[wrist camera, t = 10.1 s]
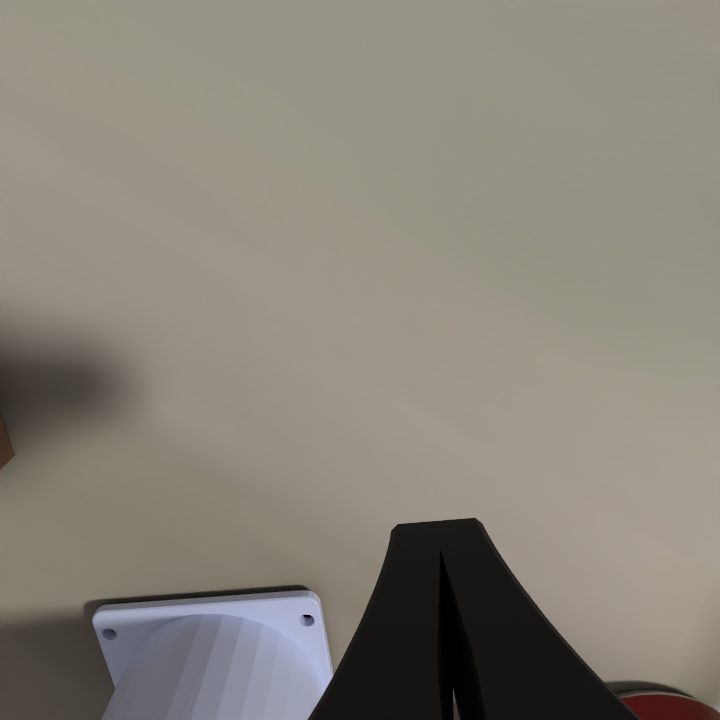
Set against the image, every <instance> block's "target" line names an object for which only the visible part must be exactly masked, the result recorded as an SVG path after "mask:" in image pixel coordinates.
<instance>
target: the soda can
mask: <svg viewBox="0 0 720 720" xmlns="http://www.w3.org/2000/svg"><path fill="white" fill-rule="evenodd" d="M616 695H617V696H618V697H619V698H620V699H621V700H622V701H623V702H624V703H625V704H626V705H627V706H628V707H629V708H630V709H631V710H632V711H633V712H634V713H635V714H636V715H638V716H639V717H640V718H641V719H642V720H720V713H719V712H718V711H717V710H715V709H714V708H713V707H711V706H709V705H707V704H704V703H702V702H700V701H698V700H696V699H693V698H691V697H688V696H685V695H681V694H678V693H674V692H670V691H661V690H633V691H627V692H621V693H616Z"/></svg>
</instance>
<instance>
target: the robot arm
mask: <svg viewBox="0 0 720 720" xmlns="http://www.w3.org/2000/svg"><path fill="white" fill-rule="evenodd" d="M302 615H311V616H312V617H311V618H305V617H304V616H302ZM92 623H93V626H94V629H95V632H96V635H97V638H98V640H99V643H100V646H101V649H102V652H103V655H104V658H105V661H106V663H107V666H108V669H109V672H110V675H111V678H112V681H113V684H114V686H115V691H114V693H113V695H112V697H111V699H110V702H109V704H108V706H107V708H106V710H105V712H104V715H103V717H102V719H101V720H454V715H453V690H454V694H455V699H456V704H457V709H458V713H459V718H460V720H642V719H641V718H640V717H639V716H638V715H636V714H635V713H634V712H633V711H632V710H631V709H630V708H629V707H628V706H627V705H626V704H625V703H624V702H623V701H622V700H621V699H620V698H619V697H618V696H617V695H616V694H615V693H614V692H613V691H612V690H611V689H610V688H609V687H608V686H607V685H606V684H605V683H604V682H603V681H602V680H601V679H600V678H599V677H598V676H597V675H596V673H595V672H594V671H593V670H592V669H591V668H590V667H589V666H588V665H587V664H586V663H585V662H584V661H583V659H582V658H581V657H580V656H579V655H578V654H577V653H576V652H575V650H574V649H573V648H572V647H571V646H570V645H569V644H568V643H567V641H566V640H565V639H564V638H563V637H562V636H561V635H560V633H559V632H558V631H557V630H556V629H555V627H554V626H553V625H552V624H551V623H550V621H549V620H548V619H547V618H546V617H545V615H544V614H543V613H542V611H541V610H540V609H539V608H538V606H537V605H536V604H535V602H534V601H533V600H532V599H531V597H530V596H529V595H528V593H527V592H526V591H525V589H524V588H523V587H522V586H521V584H520V583H519V581H518V580H517V579H516V577H515V576H514V574H513V573H512V572H511V570H510V569H509V567H508V566H507V564H506V563H505V561H504V560H503V558H502V557H501V555H500V554H499V552H498V551H497V549H496V547H495V546H494V544H493V542H492V541H491V539H490V537H489V535H488V534H487V532H486V530H485V528H484V526H483V524H482V523H481V522H480V521H478V520H477V519H476V518H468V519H456V520H443V521H431V522H418V523H406V524H397V525H396V527H395V528H394V529H393V530H392V531H391V536H390V542H389V546H388V550H387V553H386V557H385V560H384V563H383V566H382V569H381V572H380V575H379V578H378V581H377V583H376V586H375V588H374V591H373V593H372V596H371V598H370V600H369V603H368V605H367V608H366V610H365V612H364V615H363V617H362V619H361V622H360V624H359V626H358V628H357V630H356V632H355V634H354V636H353V638H352V640H351V642H350V644H349V646H348V648H347V650H346V652H345V654H344V656H343V658H342V660H341V662H340V664H339V666H338V668H337V670H336V672H335V674H333V669H332V663H331V658H330V652H329V647H328V641H327V635H326V630H325V624H324V619H323V613H322V608H321V602H320V599H319V597H318V596H317V595H316V594H315V593H314V592H311V591H307V590H299V591H286V592H272V593H259V594H245V595H232V596H218V597H205V598H191V599H177V600H164V601H150V602H137V603H123V604H110V605H103V606H100V607H99V608H98V609H97V610H96V612H95V614H94V616H93V618H92ZM109 629H112V630H114V631H115V632H114V631H111V630H109Z"/></svg>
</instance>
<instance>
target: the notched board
mask: <svg viewBox="0 0 720 720" xmlns="http://www.w3.org/2000/svg"><path fill="white" fill-rule="evenodd" d="M14 456H15V454H14V451H13V449H12V446H11V443H10V440H9V437H8V435H7V432H6V429H5V426H4V424H3V421H2V418H1V415H0V469H1V468H2V467H3V466H4V465H5V464H6V463H7V462H8V461H9V460H11V459H12V458H13V457H14Z"/></svg>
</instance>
